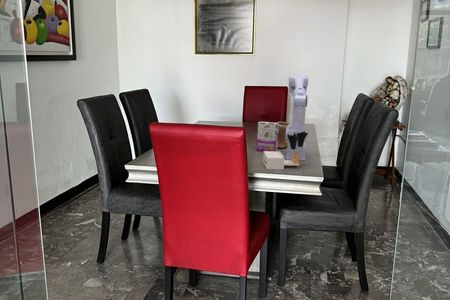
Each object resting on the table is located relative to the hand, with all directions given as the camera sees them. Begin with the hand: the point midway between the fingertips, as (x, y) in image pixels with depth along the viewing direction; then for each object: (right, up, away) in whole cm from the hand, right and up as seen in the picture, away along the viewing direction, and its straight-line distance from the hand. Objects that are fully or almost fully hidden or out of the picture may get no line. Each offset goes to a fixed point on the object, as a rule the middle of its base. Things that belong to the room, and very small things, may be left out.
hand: (296, 148), depth 194 cm
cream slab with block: (-6, -7, +1) cm, 10 cm away
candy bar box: (-11, -2, +33) cm, 35 cm away
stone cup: (-2, +1, +46) cm, 46 cm away
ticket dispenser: (-11, -9, +2) cm, 14 cm away
